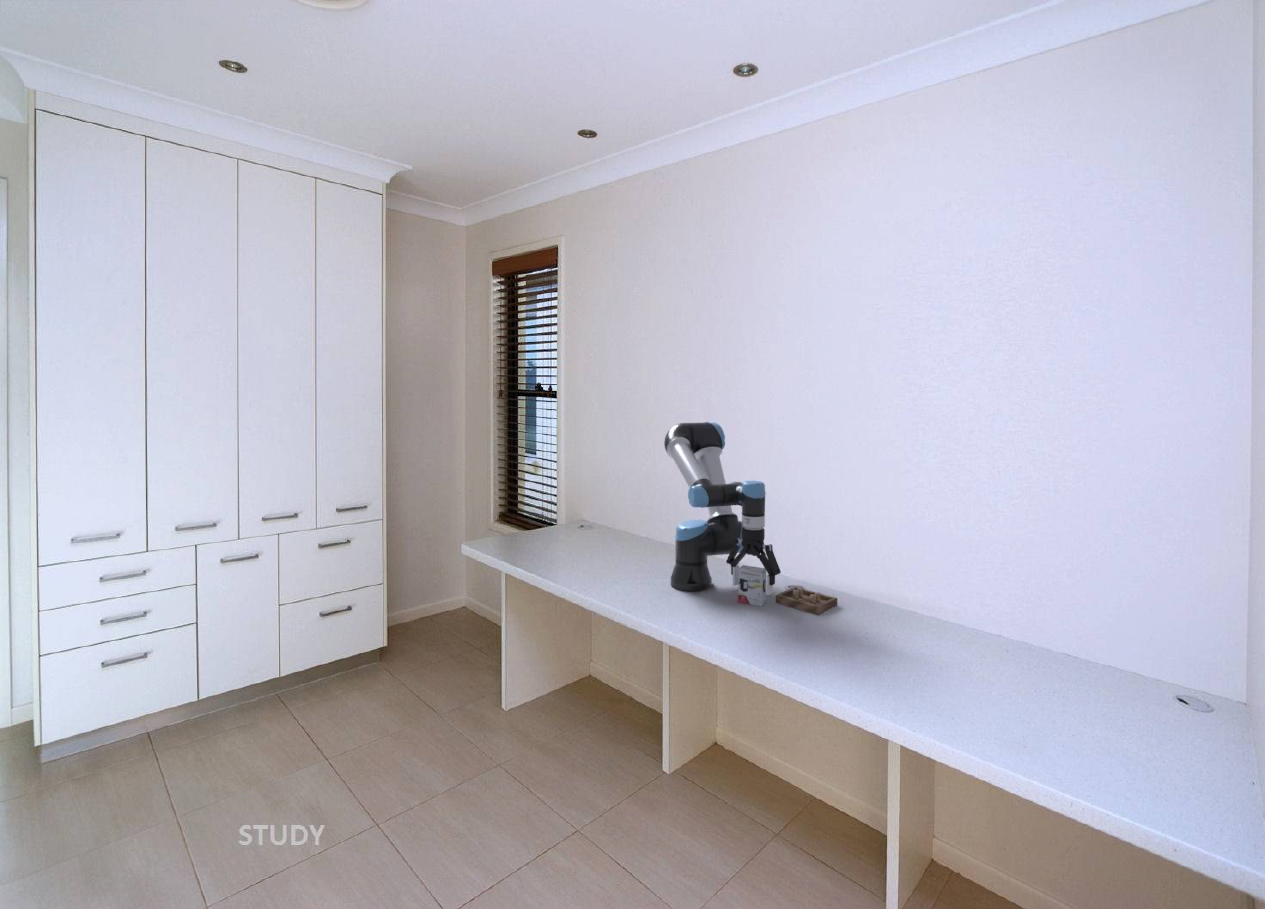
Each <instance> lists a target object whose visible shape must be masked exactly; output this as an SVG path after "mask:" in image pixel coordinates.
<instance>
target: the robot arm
mask: <svg viewBox="0 0 1265 909" xmlns="http://www.w3.org/2000/svg"><path fill="white" fill-rule="evenodd" d="M663 444H664V450H665V452H666V453H667V455H668V457H669V458H671V459H673V461H674V462H675V465H677V466H676V467H677V469H678V470H679V471H680V473H681V475H682V477H683V479H684V481H685V483H686V484H687V486H688V487H689V488H688V491H687V497H688V498H687V500H688V503H689V504H690V506H691V507H692V508H702V509H703V508H707V510H708V514H709V517H708V519H707V520H704V519H689V520H685V521H683V522H680V523H679V524H678V525H677V526H676V528H675V536H674V539H675V554H674V555H675V561H674V562H675V563H674V567H673V570H672V574H671V577H670V586H671V587H673V588H674V589H677V590H680V591H685V592H687V591H688V592H698V591H699V592H701V591H705V590H708V589H710V588H711V587H712V586H713V583H712V582H713V580H712V576H711V573H710V570H709V566H708V556H709V557H710V556H711V557H712V556H723V555H728V556H727V559H726V561H725V562H726V564H727V565H730V573H731V574H730V575H731V576H732V586H733V587H735V586H738V577H739V568H740V565H739V563H740V562H741V561H742V560H743V558H744V557H746V555H748V556H750V555H751V556H753V557H756V558H757V559H759V561H760V562H761V564H762V566H763V568H765V569H766V573H767V574H766V596H770V595H772V594H774V593H773V592H774V585H775V584H776V576H777V575H780V574H781V569H780V566H779V563H778V561H777V559H776V556H775V553H774V551H773V550H774V549H773V548H774V547H773V544H771V543H770V544H765V542H764V540H765V539H766V538H765V534H766V533H765V528H764V527H766V517H765V516H766V515H765V514H766V496H767V493H766V484H765V483H764V482H763V481H759V480H746V481H745V480H744V481H743V482H741V481H732V482H729V483H726V478H725V474H724V470H723V466H722V461H721V458H720V457H721V454H722V453H723V450H724V449H725V446H726V435H725V433H724V430H723V428H722V427H721V425H720V424H719V423H717V422H710V421H706V422H680V423H676V424H675V425H673V426H672V427H670V429H669V430H667V433H666V434H665V437H664V443H663ZM732 506H740V507H741V520H739V517H738V514H736V513H735V512H733V510H732Z"/></svg>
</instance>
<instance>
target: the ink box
mask: <svg viewBox="0 0 1265 909" xmlns="http://www.w3.org/2000/svg"><path fill="white" fill-rule="evenodd" d="M766 580H767V571H766V569H765V568H764V567H759V566H754V565H753V566H752V565H745V564H742V565H741V567H740V566H739V577H738V585H737V587H738V588H737V602H738V603H739V604H746V605H752V606H757V607H758V606H759V607H762V606H763V605H764V604H766V602H767V601H766V598H767V595H766Z"/></svg>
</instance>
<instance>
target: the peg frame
mask: <svg viewBox="0 0 1265 909" xmlns="http://www.w3.org/2000/svg"><path fill="white" fill-rule="evenodd" d="M775 603H777V604H780V605H783V606H787V607H791V608H794V609H797V610H800V611H803V612H806V613H809V614H810V613H811V614H813V615H816V616H820V615H822V614H824V613H826V612H828V611H830V610H832V609H834V608H835V607H837V606H838V597H836V596H832V595H827V594H824V593H820V592H819V591H818V592H816V591H812V590H809V589H804V588H803V587H798V586H794V587H790V588H789V589H786V590H784V591H782V592H779V593H778V594H776V595H775Z"/></svg>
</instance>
